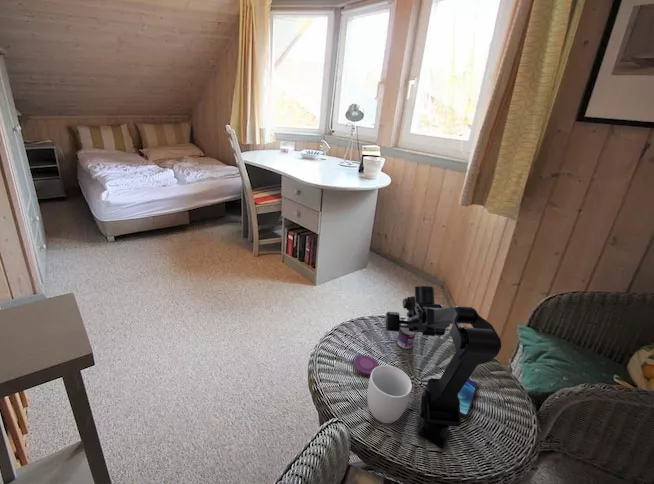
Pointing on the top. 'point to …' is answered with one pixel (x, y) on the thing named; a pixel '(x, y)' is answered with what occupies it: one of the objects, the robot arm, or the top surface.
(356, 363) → the plum saucer
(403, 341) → the pill bottle
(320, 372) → the top surface
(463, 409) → the smartphone
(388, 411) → the mug
